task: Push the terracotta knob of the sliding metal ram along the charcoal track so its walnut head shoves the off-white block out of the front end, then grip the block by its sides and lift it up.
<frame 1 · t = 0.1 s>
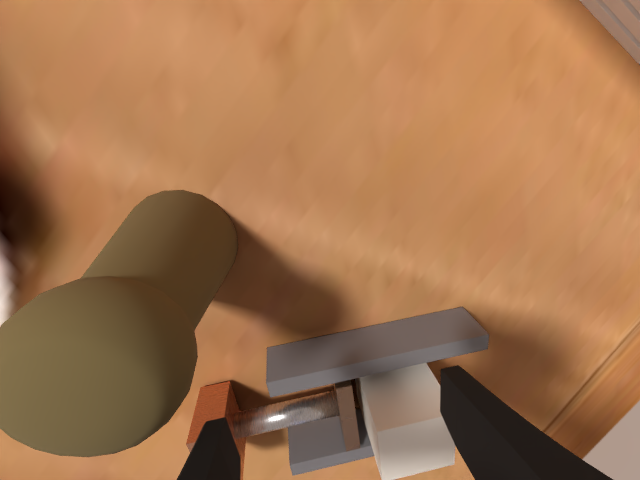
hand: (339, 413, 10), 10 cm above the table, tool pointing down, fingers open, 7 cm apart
track: (371, 374, 24), on the table
block: (384, 370, 24), on the table
cork: (184, 241, 18), on the table
ram: (280, 422, 21), point 2 cm above the table, slide at 0.0 cm
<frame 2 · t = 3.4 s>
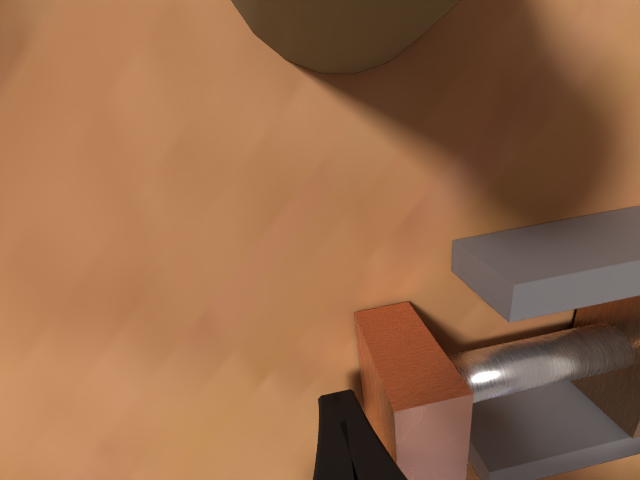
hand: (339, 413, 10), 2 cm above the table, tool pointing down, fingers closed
track: (608, 308, 13), on the table
ram: (518, 378, 11), point 2 cm above the table, slide at 1.3 cm, touching block, gripper
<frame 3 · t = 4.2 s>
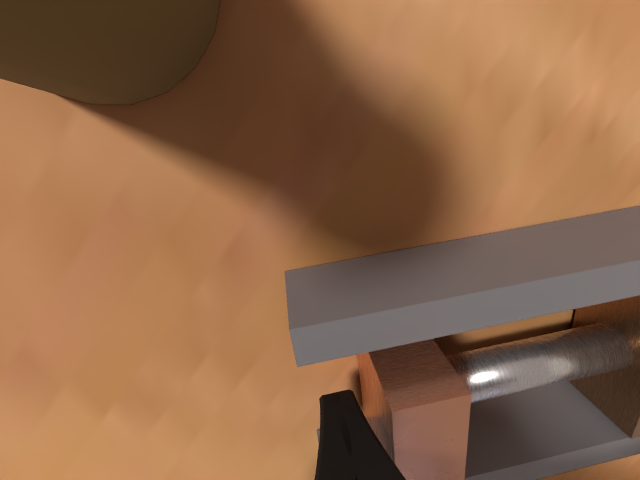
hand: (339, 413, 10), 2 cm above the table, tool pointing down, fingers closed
track: (476, 336, 13), on the table
ram: (516, 379, 11), point 2 cm above the table, slide at 7.1 cm, touching block, gripper
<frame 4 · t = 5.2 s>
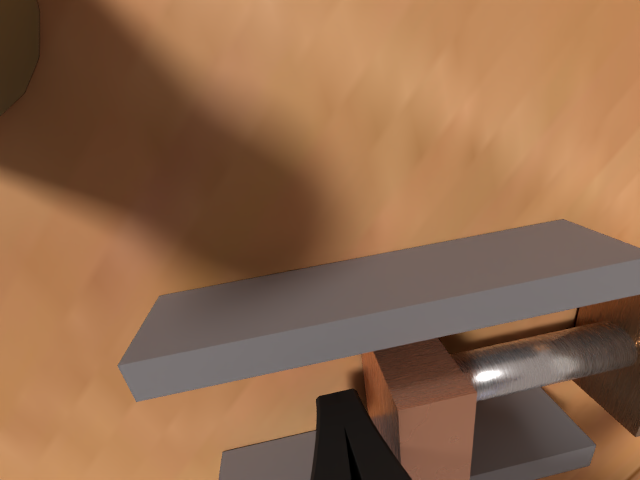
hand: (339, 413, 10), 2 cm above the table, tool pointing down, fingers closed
track: (379, 357, 12), on the table
ram: (520, 377, 11), point 2 cm above the table, slide at 11.3 cm, touching gripper
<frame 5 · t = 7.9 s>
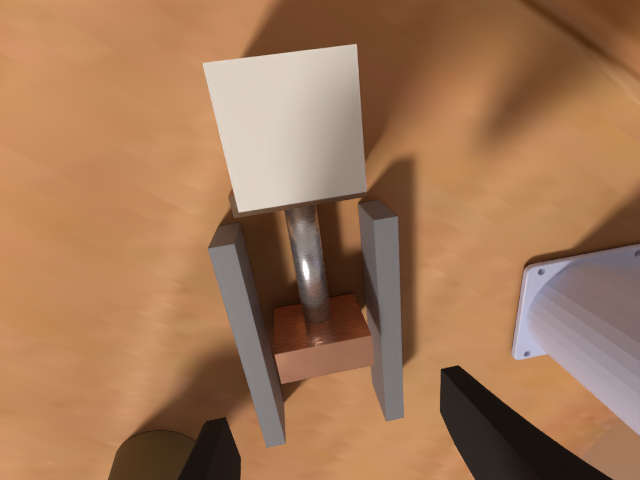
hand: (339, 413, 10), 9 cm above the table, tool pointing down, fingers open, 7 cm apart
track: (316, 315, 20), on the table
block: (285, 125, 16), on the table
cork: (161, 456, 23), on the table
ram: (311, 274, 17), point 2 cm above the table, slide at 11.3 cm
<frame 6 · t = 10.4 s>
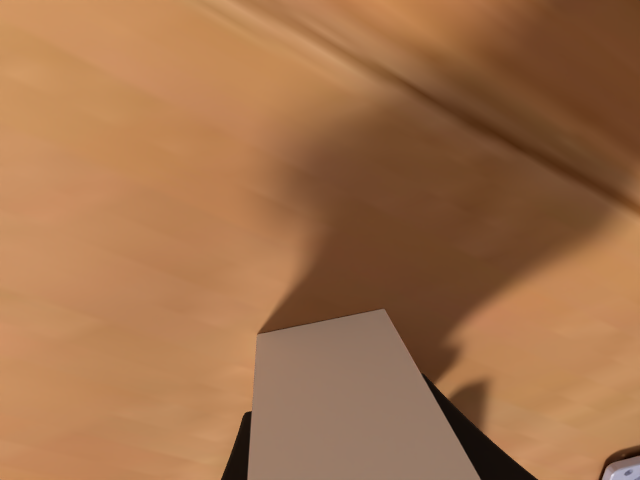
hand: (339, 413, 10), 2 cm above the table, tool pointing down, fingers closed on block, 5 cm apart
block: (329, 369, 12), on the table, touching gripper
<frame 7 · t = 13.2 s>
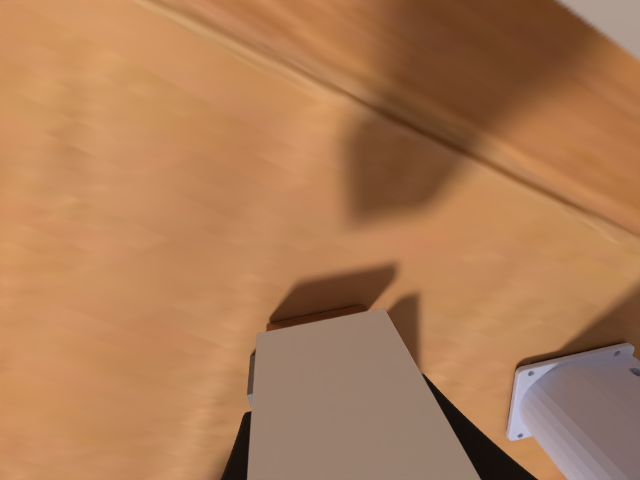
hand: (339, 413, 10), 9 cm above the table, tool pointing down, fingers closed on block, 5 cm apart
block: (329, 368, 12), point 7 cm above the table, touching gripper
ram: (331, 399, 19), point 2 cm above the table, slide at 11.3 cm
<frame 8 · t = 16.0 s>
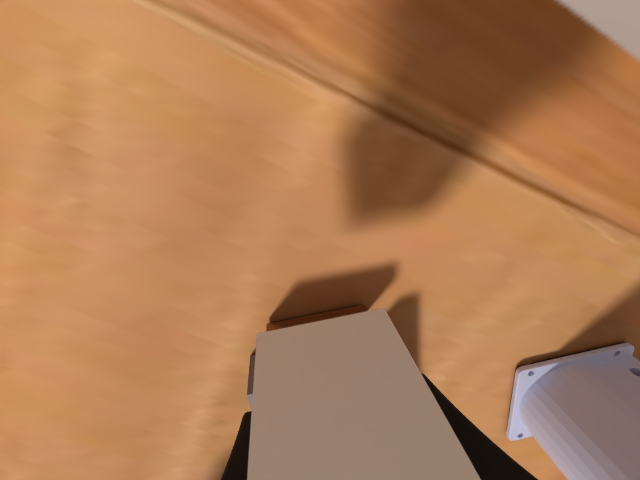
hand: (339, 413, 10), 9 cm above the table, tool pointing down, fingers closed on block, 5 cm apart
block: (329, 368, 12), point 7 cm above the table, touching gripper
ram: (331, 399, 19), point 2 cm above the table, slide at 11.3 cm
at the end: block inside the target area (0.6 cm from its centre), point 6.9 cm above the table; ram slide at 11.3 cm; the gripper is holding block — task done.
